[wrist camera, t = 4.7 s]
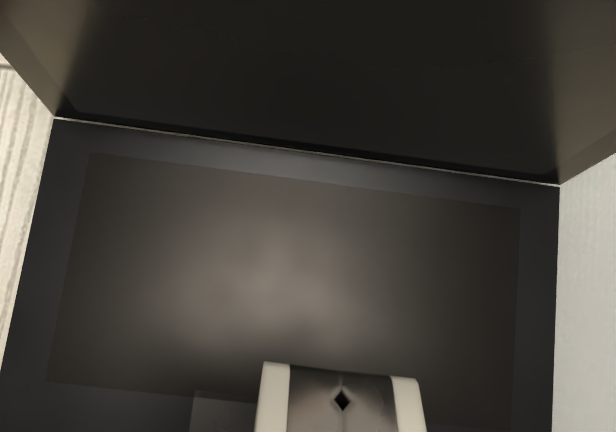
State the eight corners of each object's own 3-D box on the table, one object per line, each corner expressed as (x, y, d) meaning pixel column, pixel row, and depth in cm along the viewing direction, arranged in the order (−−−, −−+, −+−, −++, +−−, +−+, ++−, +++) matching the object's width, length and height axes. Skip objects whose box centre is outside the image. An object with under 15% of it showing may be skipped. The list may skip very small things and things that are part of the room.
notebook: (529, 552, 31) (548, 569, 29) (-11, 500, 29) (-32, 514, 27) (543, 194, 34) (561, 186, 32) (65, 129, 33) (52, 117, 31)
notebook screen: (1056, -96, 12) (1046, -128, 13) (-340, -342, 11) (-321, -372, 11) (560, 186, 32) (559, 172, 33) (53, 118, 31) (57, 104, 31)
